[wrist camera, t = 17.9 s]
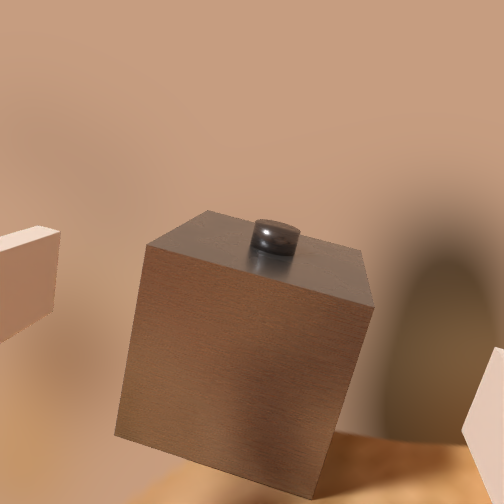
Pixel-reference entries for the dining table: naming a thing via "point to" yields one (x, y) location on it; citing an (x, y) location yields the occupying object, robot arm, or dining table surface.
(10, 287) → the robot arm
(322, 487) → the dining table surface
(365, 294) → the metal cover
